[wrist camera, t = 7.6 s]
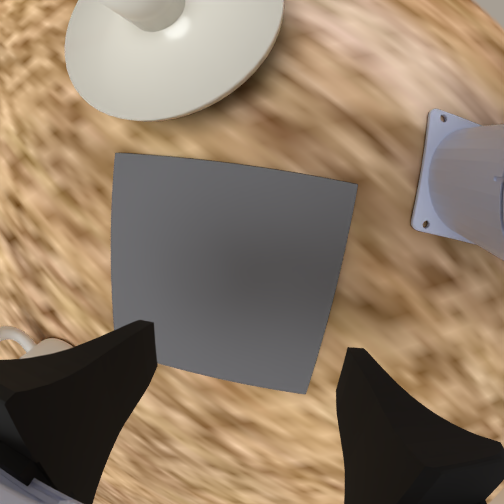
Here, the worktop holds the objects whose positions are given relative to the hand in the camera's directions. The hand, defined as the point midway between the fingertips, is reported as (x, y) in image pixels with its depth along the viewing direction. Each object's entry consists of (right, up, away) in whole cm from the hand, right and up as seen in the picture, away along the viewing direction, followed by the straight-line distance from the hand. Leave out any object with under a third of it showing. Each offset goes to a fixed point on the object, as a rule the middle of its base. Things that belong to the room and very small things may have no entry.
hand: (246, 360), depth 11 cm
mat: (-2, +2, +11) cm, 11 cm away
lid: (-5, +17, +2) cm, 18 cm away
